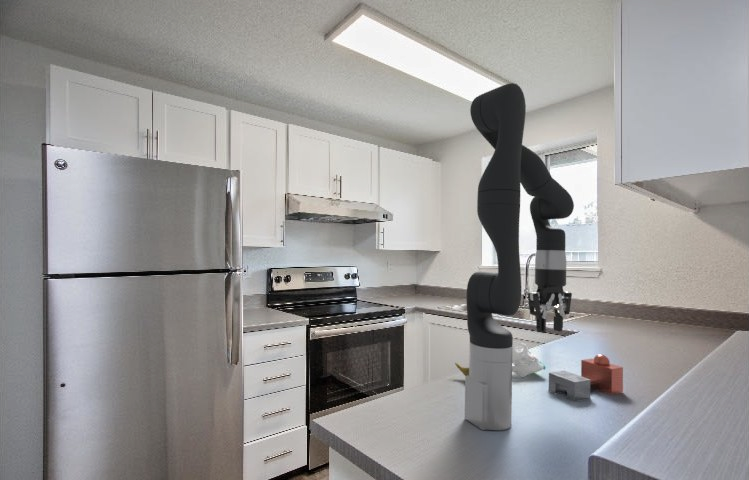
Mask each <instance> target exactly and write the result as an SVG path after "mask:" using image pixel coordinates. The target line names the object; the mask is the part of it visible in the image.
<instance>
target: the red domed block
mask: <svg viewBox="0 0 749 480" xmlns="http://www.w3.org/2000/svg"><path fill="white" fill-rule="evenodd" d="M580 361H581V362H580V363H581V366H580V368H581V369H580V370H581V371H580V372H581V375H580V376H581V377H584V378H587V379H590V393H591V392H596V391H600V392H602V393H605V394H607V395H611V396H613V395H618V394H623V393H624V367H623V366H619V365H616V364H613V363H610V359H609V357H607V356H606V355H604V354H597V355H595V356H594V357H593V358H587V359H581V360H580Z"/></svg>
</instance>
